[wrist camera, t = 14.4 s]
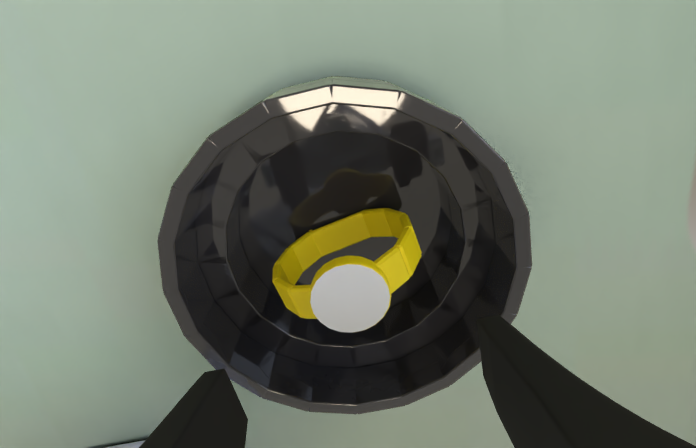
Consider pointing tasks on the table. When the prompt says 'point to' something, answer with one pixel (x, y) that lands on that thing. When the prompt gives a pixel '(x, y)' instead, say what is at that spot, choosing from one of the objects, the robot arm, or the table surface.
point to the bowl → (327, 207)
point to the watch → (348, 270)
